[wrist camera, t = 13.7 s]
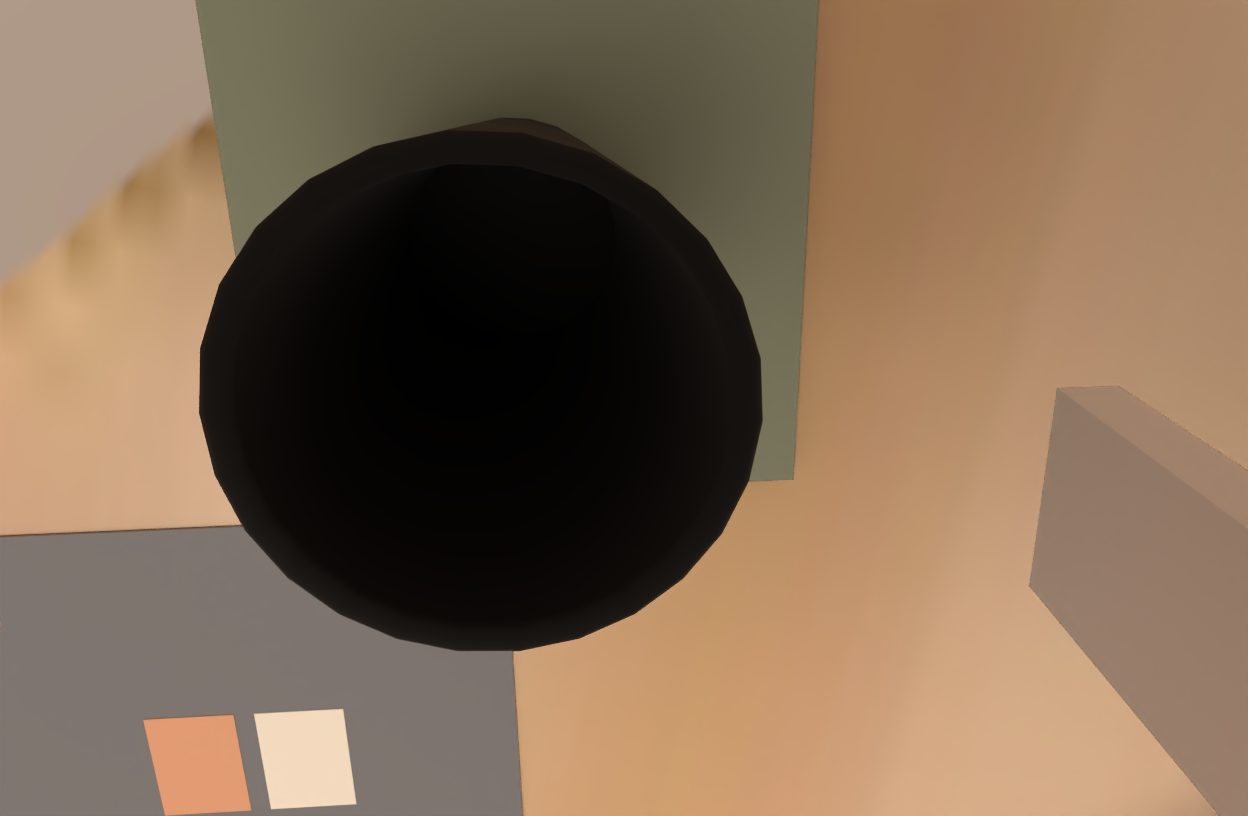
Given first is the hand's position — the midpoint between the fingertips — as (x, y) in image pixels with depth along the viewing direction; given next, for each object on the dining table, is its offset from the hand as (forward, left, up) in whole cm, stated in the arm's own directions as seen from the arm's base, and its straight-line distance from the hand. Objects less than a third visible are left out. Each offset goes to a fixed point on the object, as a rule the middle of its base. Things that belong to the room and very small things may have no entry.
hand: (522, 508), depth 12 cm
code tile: (+9, +16, -15) cm, 23 cm away
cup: (0, 0, -14) cm, 14 cm away
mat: (0, 0, -15) cm, 14 cm away
